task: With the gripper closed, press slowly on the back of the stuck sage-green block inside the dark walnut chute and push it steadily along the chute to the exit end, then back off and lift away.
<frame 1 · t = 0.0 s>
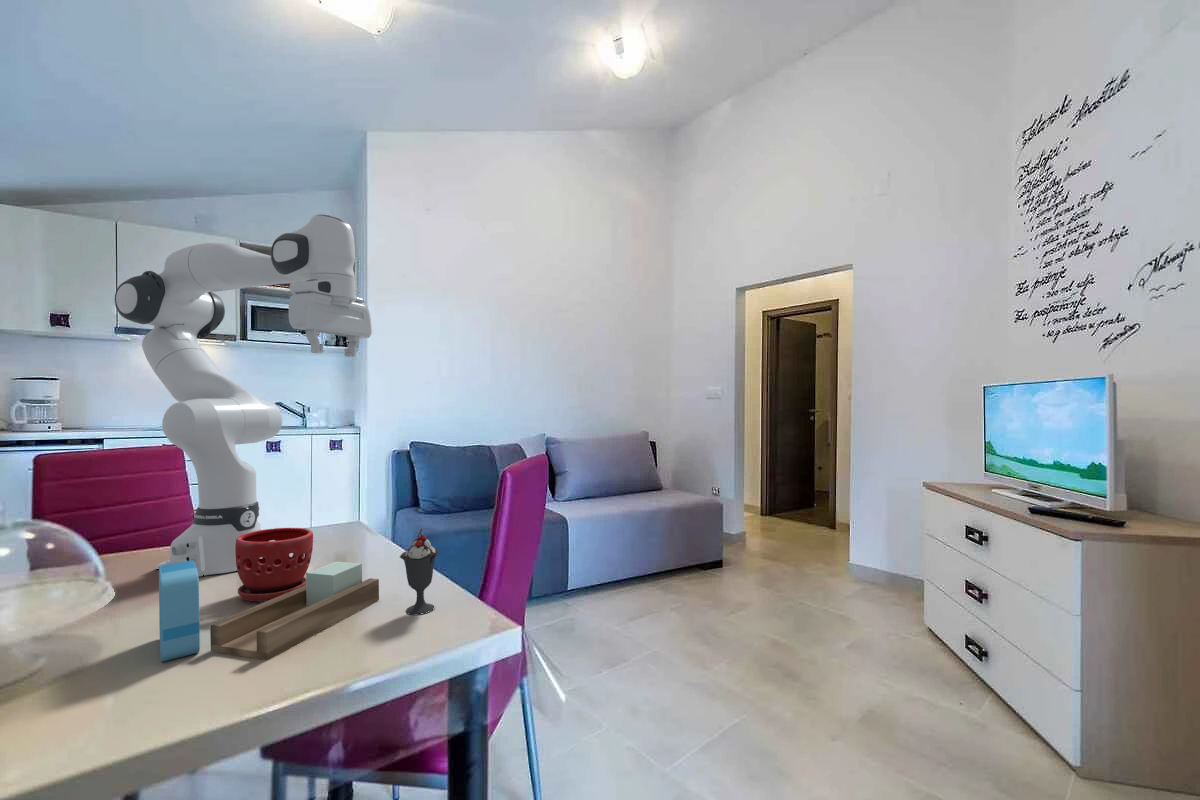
hand: (334, 354, 116), 48 cm above the table, tool pointing down, fingers open, 8 cm apart
stuck block: (334, 584, 98), point 4 cm above the table, slide at 0.0 cm
chute: (304, 622, 91), on the table
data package: (179, 647, 83), on the table
plant pot: (276, 594, 105), on the table
sundae: (420, 610, 96), on the table
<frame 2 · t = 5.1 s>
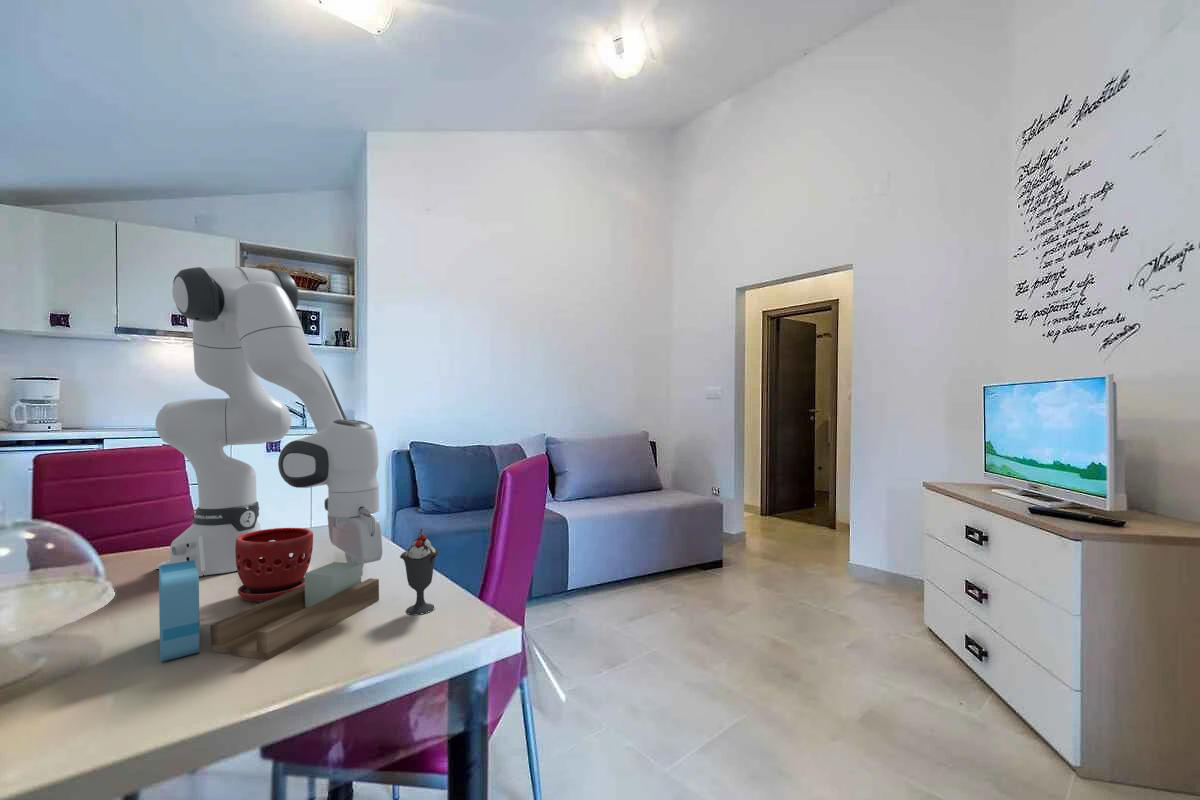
hand: (355, 576, 102), 4 cm above the table, tool pointing down, fingers closed
stuck block: (333, 585, 97), point 4 cm above the table, slide at 0.3 cm, touching gripper
everything else where it was.
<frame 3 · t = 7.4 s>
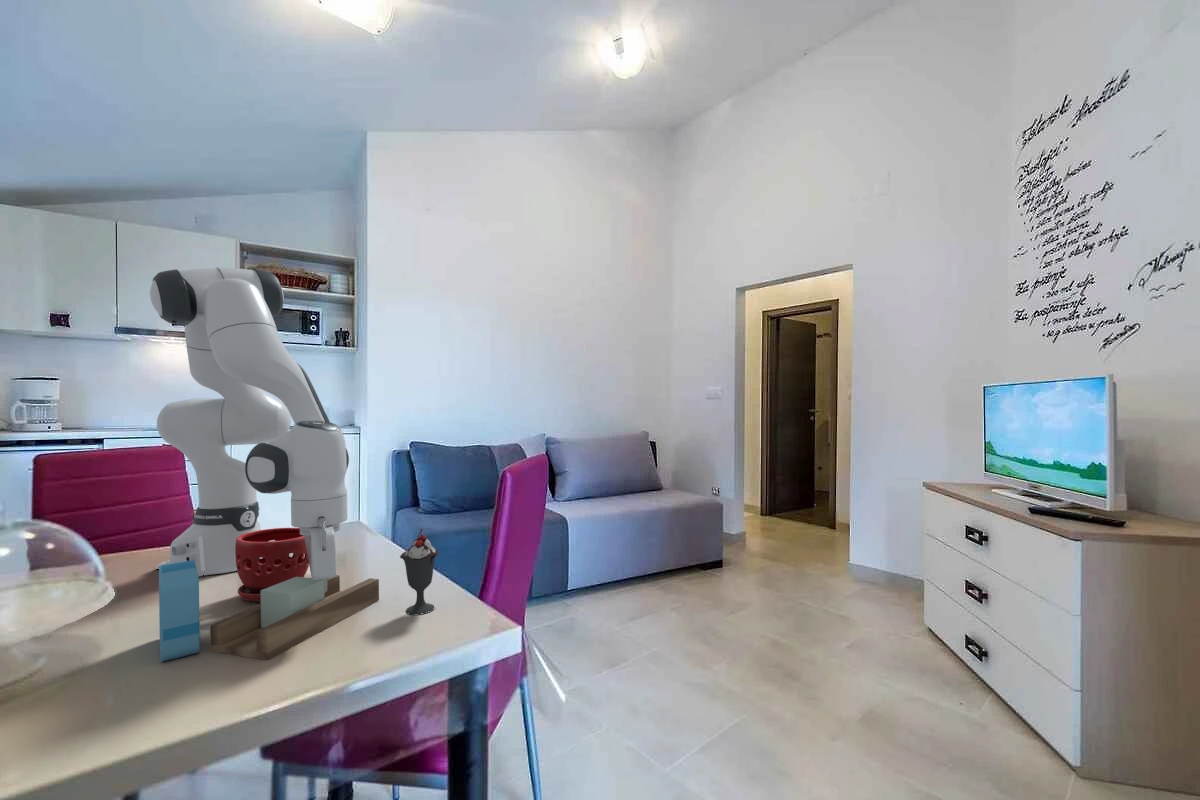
hand: (321, 591, 94), 4 cm above the table, tool pointing down, fingers closed
stuck block: (293, 602, 89), point 4 cm above the table, slide at 9.1 cm, touching gripper
everything else where it was.
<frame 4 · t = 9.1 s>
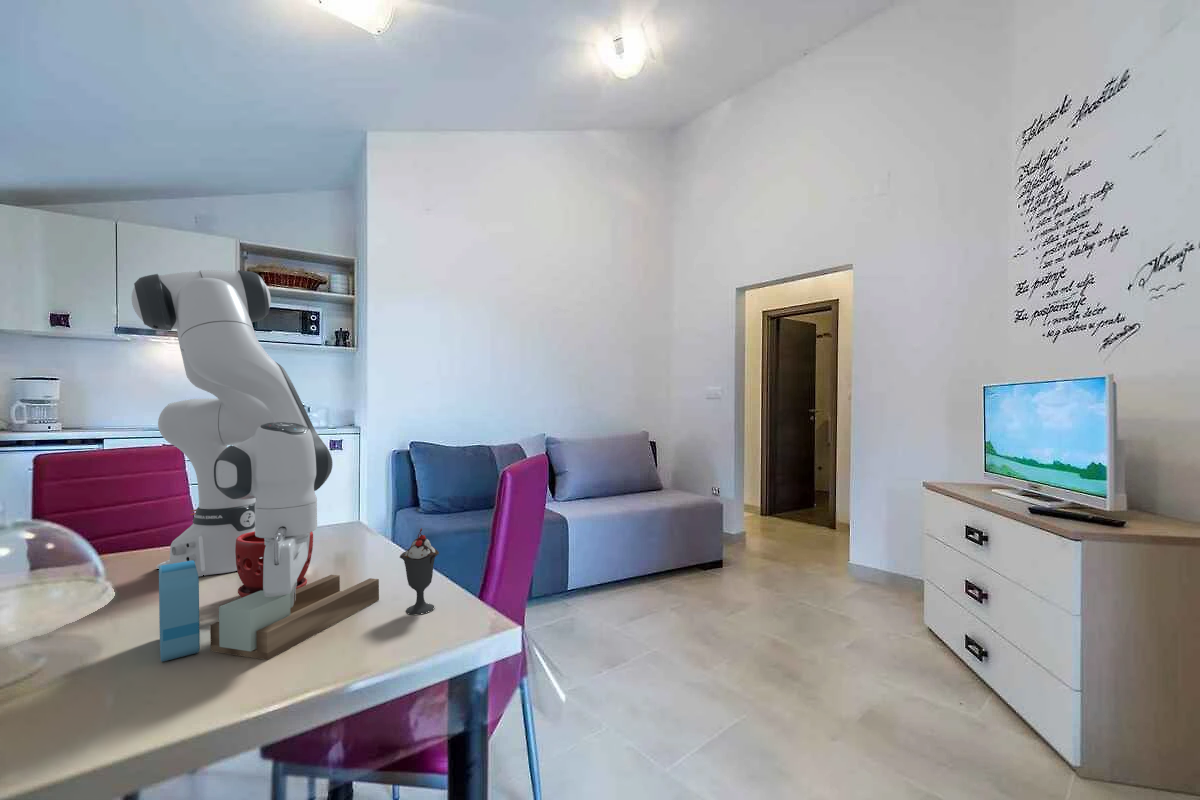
hand: (288, 605, 87), 4 cm above the table, tool pointing down, fingers closed
stuck block: (255, 619, 82), point 4 cm above the table, slide at 16.1 cm, touching gripper
everything else where it was.
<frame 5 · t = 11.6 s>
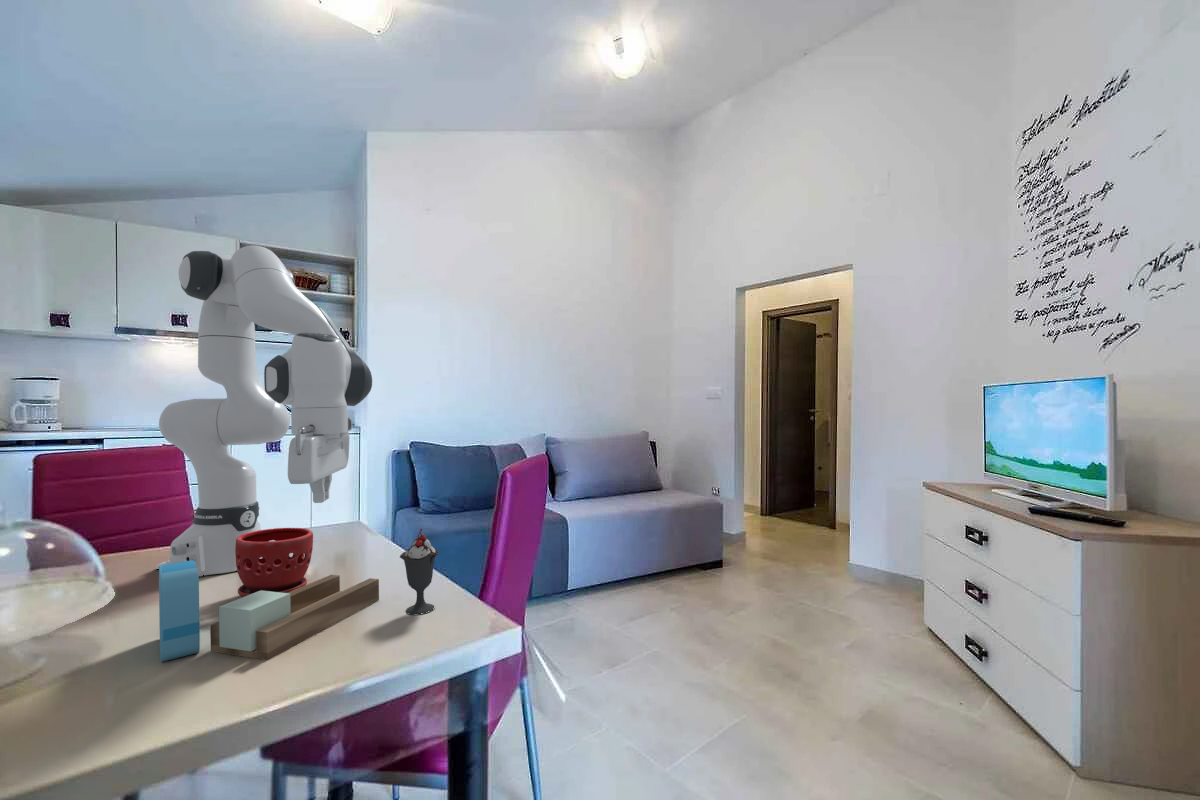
hand: (321, 501, 95), 20 cm above the table, tool pointing down, fingers closed
stuck block: (256, 619, 82), point 4 cm above the table, slide at 16.0 cm
everything else where it was.
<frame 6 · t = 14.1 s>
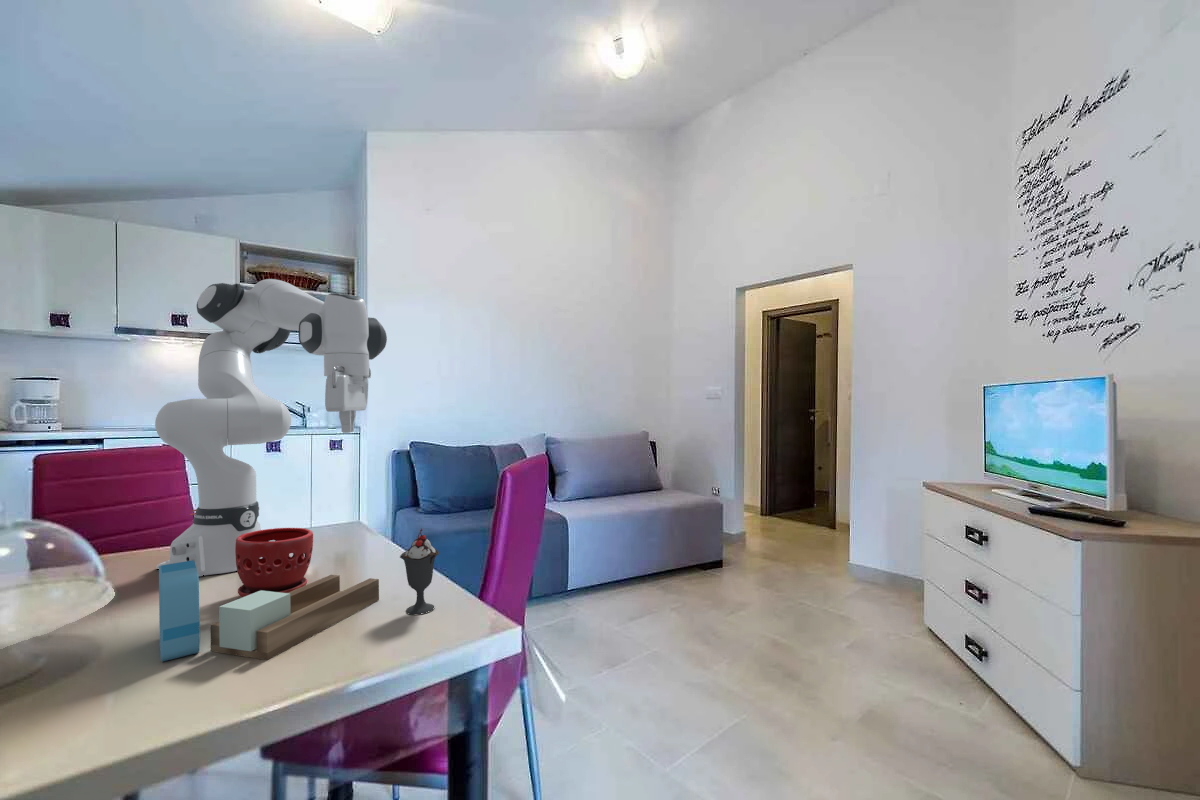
hand: (347, 432, 115), 31 cm above the table, tool pointing down, fingers closed
nothing on the table moved.
at the end: stuck block slide at 16.0 cm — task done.
